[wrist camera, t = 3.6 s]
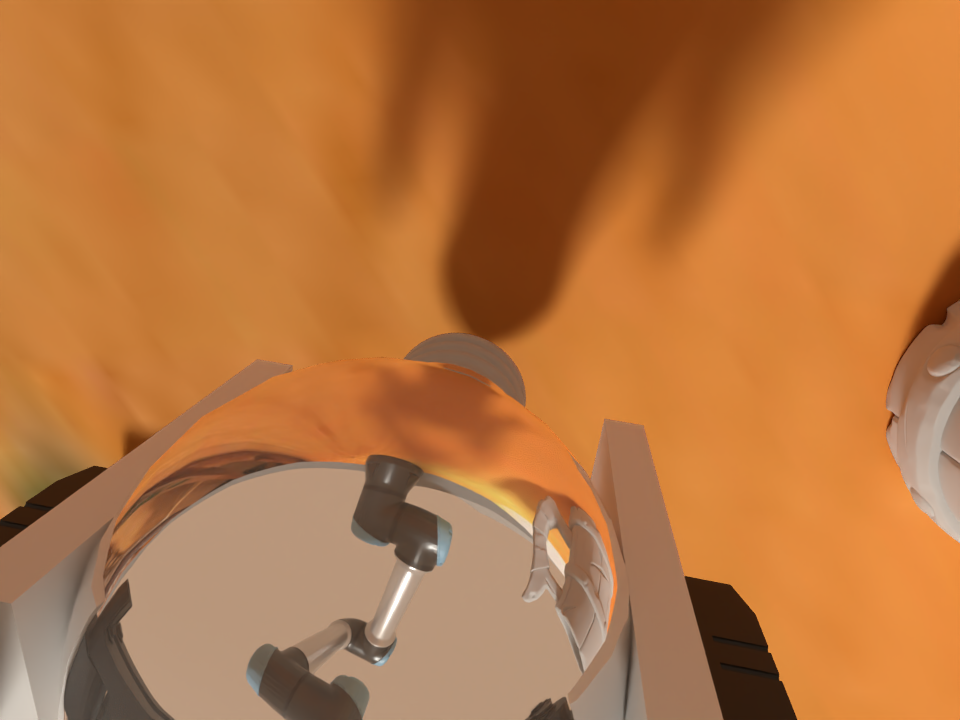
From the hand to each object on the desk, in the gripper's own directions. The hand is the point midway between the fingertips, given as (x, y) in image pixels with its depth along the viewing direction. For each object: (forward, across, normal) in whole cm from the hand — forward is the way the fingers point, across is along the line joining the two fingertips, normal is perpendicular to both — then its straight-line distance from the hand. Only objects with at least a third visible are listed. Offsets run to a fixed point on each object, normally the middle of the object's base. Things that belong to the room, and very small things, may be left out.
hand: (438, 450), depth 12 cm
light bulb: (+4, 0, 0) cm, 4 cm away
